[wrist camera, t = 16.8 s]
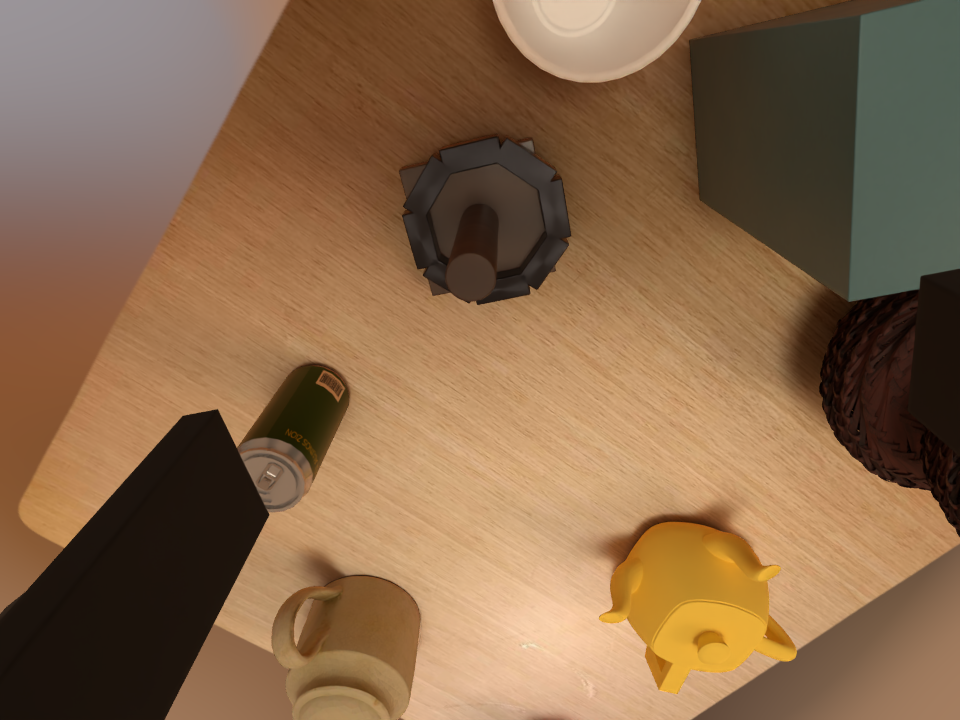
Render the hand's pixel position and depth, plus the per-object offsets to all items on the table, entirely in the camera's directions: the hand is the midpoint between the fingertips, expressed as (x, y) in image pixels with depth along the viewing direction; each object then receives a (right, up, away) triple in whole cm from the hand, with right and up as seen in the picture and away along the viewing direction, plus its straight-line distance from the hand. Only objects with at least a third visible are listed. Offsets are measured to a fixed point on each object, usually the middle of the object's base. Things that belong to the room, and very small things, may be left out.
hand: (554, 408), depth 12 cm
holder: (-1, +11, +31) cm, 33 cm away
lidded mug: (-14, -23, +48) cm, 56 cm away
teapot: (+17, -17, +44) cm, 50 cm away
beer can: (-15, -1, +38) cm, 41 cm away
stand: (+17, +17, +27) cm, 37 cm away
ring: (-1, +10, +30) cm, 31 cm away
